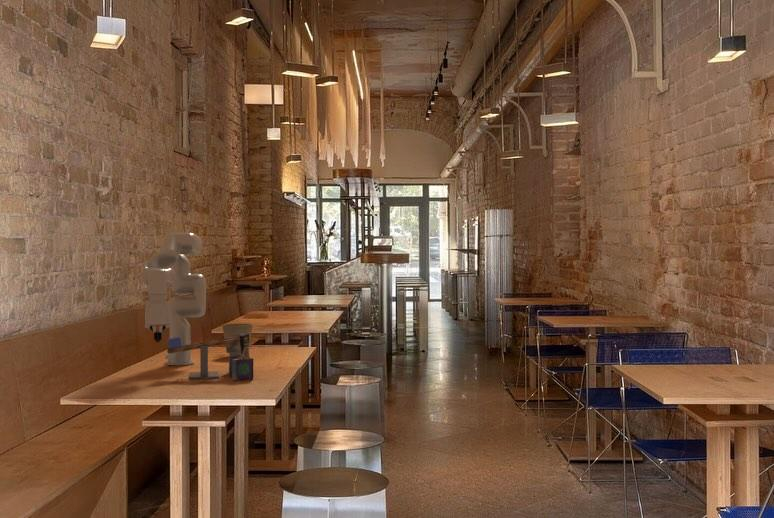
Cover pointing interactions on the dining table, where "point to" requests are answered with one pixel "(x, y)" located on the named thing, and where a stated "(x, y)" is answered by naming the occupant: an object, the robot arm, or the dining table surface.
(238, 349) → the beam
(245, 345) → the coffee box
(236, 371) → the flask
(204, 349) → the stand
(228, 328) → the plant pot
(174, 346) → the blue block
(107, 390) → the dining table surface
